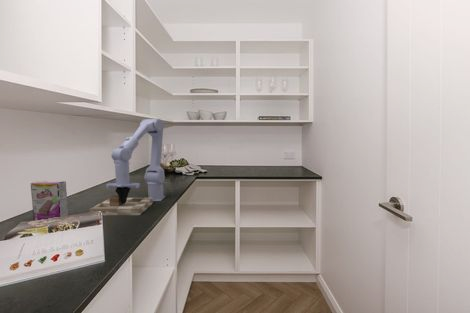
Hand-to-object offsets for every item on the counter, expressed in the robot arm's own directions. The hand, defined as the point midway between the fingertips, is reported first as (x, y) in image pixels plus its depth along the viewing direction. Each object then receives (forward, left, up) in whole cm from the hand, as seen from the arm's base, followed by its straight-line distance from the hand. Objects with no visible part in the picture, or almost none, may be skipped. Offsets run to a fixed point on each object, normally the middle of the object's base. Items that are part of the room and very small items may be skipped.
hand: (123, 203), depth 108 cm
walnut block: (0, -3, -1) cm, 4 cm away
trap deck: (-4, -2, -4) cm, 5 cm away
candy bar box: (+10, -26, -4) cm, 28 cm away
